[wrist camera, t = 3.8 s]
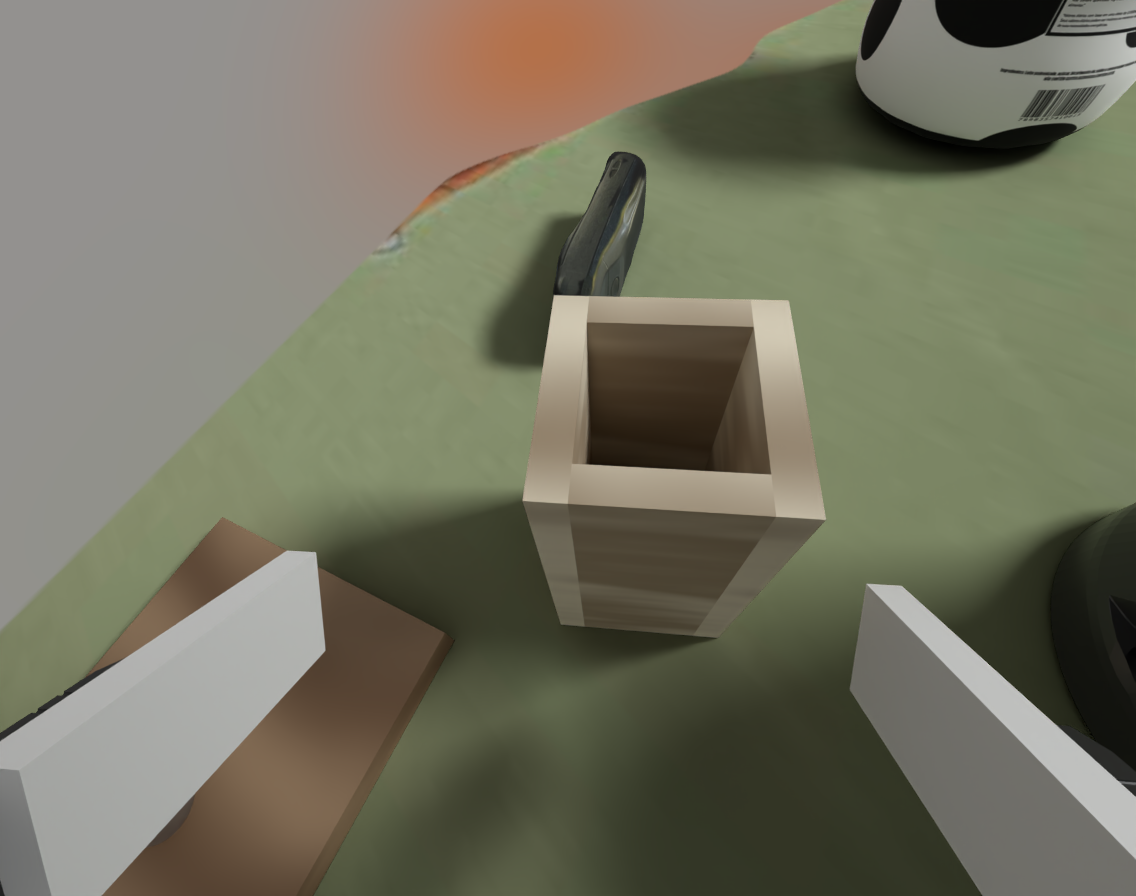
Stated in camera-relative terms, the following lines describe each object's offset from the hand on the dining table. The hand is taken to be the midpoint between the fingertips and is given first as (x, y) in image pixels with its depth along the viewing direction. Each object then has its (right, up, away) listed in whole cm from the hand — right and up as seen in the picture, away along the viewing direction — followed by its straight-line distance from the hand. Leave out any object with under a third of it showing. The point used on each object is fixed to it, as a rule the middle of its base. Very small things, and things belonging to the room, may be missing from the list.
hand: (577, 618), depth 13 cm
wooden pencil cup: (+3, -1, +10) cm, 11 cm away
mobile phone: (+2, +14, +20) cm, 24 cm away
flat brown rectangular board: (-14, -9, +7) cm, 18 cm away
